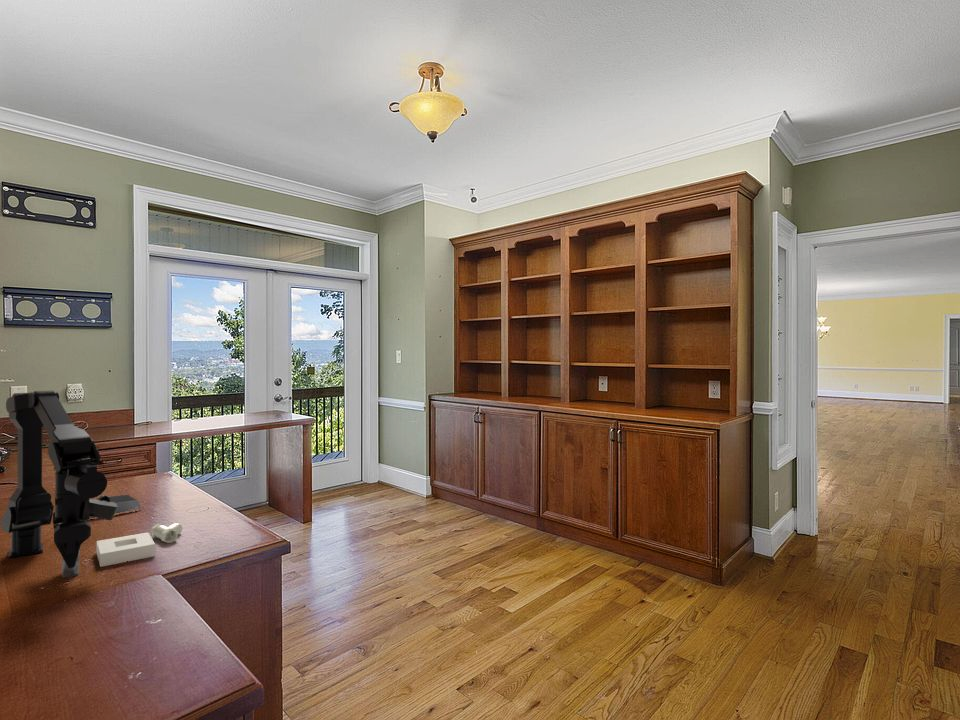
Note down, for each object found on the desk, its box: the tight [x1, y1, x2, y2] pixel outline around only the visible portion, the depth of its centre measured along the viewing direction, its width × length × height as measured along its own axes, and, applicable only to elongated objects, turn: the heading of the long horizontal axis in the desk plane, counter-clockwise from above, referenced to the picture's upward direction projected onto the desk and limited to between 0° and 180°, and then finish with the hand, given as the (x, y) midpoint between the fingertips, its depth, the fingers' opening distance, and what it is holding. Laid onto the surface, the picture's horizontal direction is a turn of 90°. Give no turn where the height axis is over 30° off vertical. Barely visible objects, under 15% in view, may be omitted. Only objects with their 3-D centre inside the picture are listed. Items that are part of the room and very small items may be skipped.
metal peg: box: [61, 552, 80, 579], centre depth 119 cm, size 3×3×10 cm
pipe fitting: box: [150, 522, 183, 544], centre depth 144 cm, size 8×4×7 cm
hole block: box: [96, 532, 156, 568], centre depth 131 cm, size 11×11×3 cm
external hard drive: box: [89, 494, 142, 519], centre depth 165 cm, size 13×19×4 cm
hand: (70, 561), depth 119 cm, fingers open, 9 cm apart
